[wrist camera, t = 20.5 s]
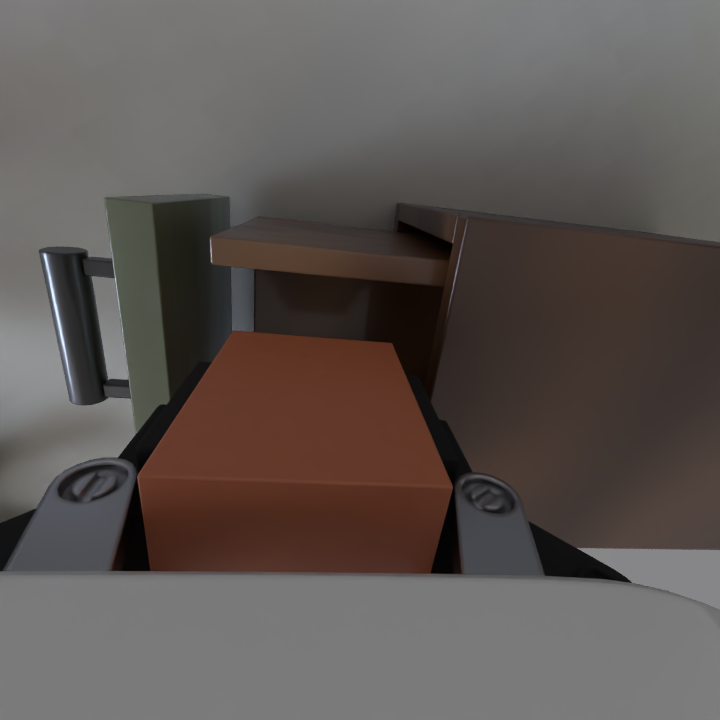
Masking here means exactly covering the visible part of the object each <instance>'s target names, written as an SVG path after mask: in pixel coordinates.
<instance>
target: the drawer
mask: <svg viewBox="0 0 720 720" xmlns="http://www.w3.org/2000/svg"><path fill="white" fill-rule="evenodd" d="M104 202H105V209H106V217H107V224H108V231H109V239H110V246H111V253H112V259H110V258H100V257H88V251H87V250H85V249H82V248H76V247H47V248H42V249H40V250H39V254H40V259H41V264H42V269H43V273H44V278H45V283H46V288H47V293H48V298H49V302H50V307H51V312H52V317H53V322H54V327H55V331H56V336H57V341H58V346H59V351H60V356H61V360H62V365H63V370H64V375H65V380H66V385H67V389H68V394H69V399H70V401H71V402H72V403H73V404H76V405H92V404H97V403H100V402H102V401H104V400H106V399H107V398H108V397H114V398H131V401H132V408H133V416H134V423H135V430H136V434H137V432H138V431H139V430H140V429H141V427H142V426H143V425H144V424H145V422H146V421H147V420H148V418H149V417H150V416H151V415H152V413H153V412H154V411H155V409H156V408H157V407H158V406H159V405H162V404H166V405H167V403H168V402H169V401H170V399H171V398H172V397H173V395H174V394H175V393H176V391H177V390H178V389H179V387H180V386H181V385H182V383H183V382H184V381H185V379H186V378H187V377H188V375H189V374H190V373H191V371H192V370H193V369H194V367H195V366H196V365H197V363H198V362H199V361H204V362H213V361H214V359H215V358H216V356H217V355H218V353H219V351H220V350H221V348H222V347H223V345H224V344H225V342H226V341H227V339H228V338H229V336H230V335H231V333H232V308H231V267H240V268H250V269H254V332H257V333H270V334H282V335H295V336H308V337H321V338H333V339H346V340H359V341H372V342H384V343H392V344H393V347H394V349H395V351H396V354H397V356H398V359H399V361H400V363H401V366H402V368H403V370H404V373H405V375H406V376H418V377H419V379H420V381H421V383H422V385H423V387H424V386H425V381H426V376H427V371H428V366H429V361H430V356H431V351H432V346H433V341H434V336H435V331H436V326H437V321H438V316H439V311H440V306H441V301H442V296H443V291H444V286H445V281H446V276H447V271H448V266H449V261H450V256H451V251H452V246H453V244H452V243H449V242H447V241H445V240H443V239H440V238H438V237H436V236H429V235H420V234H411V233H402V232H393V231H384V230H375V229H367V228H358V227H349V226H340V225H331V224H322V223H313V222H304V221H295V220H286V219H277V218H268V217H256V218H254V219H251V220H249V221H247V222H244V223H242V224H239V225H237V226H234V227H232V228H230V198H229V196H221V195H212V194H204V193H203V194H179V195H154V196H129V197H106V198H104ZM92 276H97V277H108V278H115V283H116V290H117V298H118V305H119V312H120V320H121V327H122V334H123V342H124V349H125V357H126V364H127V371H128V379H129V380H121V379H109V380H108V376H107V370H106V364H105V357H104V351H103V345H102V338H101V332H100V326H99V320H98V313H97V307H96V301H95V294H94V288H93V282H92Z"/></svg>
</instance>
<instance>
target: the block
mask: <svg viewBox="0 0 720 720" xmlns="http://www.w3.org/2000/svg"><path fill="white" fill-rule="evenodd" d="M137 479H138V486H139V493H140V500H141V507H142V514H143V522H144V529H145V536H146V543H147V550H148V557H149V564H150V571H216V572H333V573H413V574H430V573H431V569H432V566H433V562H434V558H435V554H436V550H437V547H438V543H439V539H440V535H441V531H442V527H443V524H444V520H445V516H446V512H447V508H448V504H449V501H450V497H451V493H452V489H453V486H452V483H451V481H450V479H449V476H448V474H447V472H446V469H445V467H444V465H443V462H442V460H441V457H440V455H439V453H438V450H437V448H436V446H435V443H434V441H433V439H432V436H431V434H430V432H429V429H428V427H427V425H426V422H425V420H424V417H423V415H422V413H421V410H420V408H419V406H418V403H417V401H416V399H415V396H414V394H413V392H412V389H411V387H410V384H409V382H408V380H407V377H406V375H405V373H404V370H403V368H402V366H401V363H400V361H399V359H398V356H397V354H396V351H395V349H394V347H393V344H392V343H384V342H372V341H359V340H346V339H333V338H321V337H308V336H295V335H282V334H270V333H257V332H244V331H233V332H232V333H231V335H230V336H229V338H228V339H227V341H226V342H225V344H224V345H223V347H222V348H221V350H220V351H219V353H218V355H217V356H216V358H215V359H214V361H213V362H212V364H211V365H210V367H209V368H208V370H207V371H206V373H205V374H204V376H203V377H202V379H201V380H200V382H199V383H198V385H197V386H196V388H195V389H194V391H193V392H192V394H191V395H190V397H189V398H188V400H187V401H186V403H185V404H184V406H183V407H182V409H181V410H180V412H179V413H178V415H177V416H176V418H175V419H174V421H173V422H172V424H171V425H170V427H169V429H168V430H167V432H166V433H165V435H164V436H163V438H162V439H161V441H160V442H159V444H158V445H157V447H156V448H155V450H154V451H153V453H152V454H151V456H150V457H149V459H148V460H147V462H146V463H145V465H144V466H143V468H142V469H141V471H140V472H139V474H138V476H137Z"/></svg>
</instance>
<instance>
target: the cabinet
mask: <svg viewBox="0 0 720 720" xmlns="http://www.w3.org/2000/svg"><path fill="white" fill-rule="evenodd" d="M394 232H402V233H411V234H420V235H429V236H436V237H438V238H440V239H443V240H445V241H447V242H449V243H452V244H453V246H452V251H451V256H450V261H449V266H448V271H447V276H446V281H445V286H444V291H443V296H442V301H441V306H440V311H439V316H438V321H437V326H436V331H435V336H434V341H433V346H432V351H431V356H430V361H429V366H428V371H427V376H426V381H425V386H424V389H425V391H426V393H427V395H428V397H429V399H430V402H431V404H432V406H433V408H434V410H435V412H436V414H437V416H438V418H439V420H445V421H446V422H447V423H448V425H449V427H450V429H451V431H452V433H453V435H454V437H455V439H456V440H457V442H458V444H459V446H460V448H461V450H462V452H463V454H464V456H465V458H466V460H467V462H468V464H469V466H470V468H471V470H472V472H478V473H485V474H489V475H492V476H495V477H497V478H499V479H501V480H503V481H505V482H506V483H507V484H509V485H510V486H512V488H513V489H514V490H515V491H516V492H517V493H518V494H519V496H520V498H521V500H522V503H523V506H524V509H525V513H526V516H527V519H528V521H529V522H531V523H533V524H535V525H537V526H538V527H540V528H542V529H544V530H545V531H547V532H549V533H551V534H552V535H554V536H556V537H558V538H559V539H561V540H563V541H565V542H566V543H568V544H570V545H572V546H574V547H575V548H615V549H616V548H619V549H683V550H687V549H688V550H720V243H719V242H712V241H705V240H698V239H690V238H683V237H676V236H668V235H661V234H653V233H645V232H637V231H628V230H620V229H612V228H604V227H595V226H587V225H579V224H571V223H563V222H554V221H546V220H538V219H530V218H521V217H513V216H505V215H497V214H488V213H480V212H472V211H464V210H455V209H447V208H439V207H431V206H422V205H414V204H406V203H398V204H397V210H396V218H395V225H394Z"/></svg>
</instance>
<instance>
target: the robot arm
mask: <svg viewBox="0 0 720 720" xmlns="http://www.w3.org/2000/svg"><path fill="white" fill-rule="evenodd" d="M211 364H212V362H204V361H199V362H198V363H197V365H196V366H195V367H194V369H193V370H192V371H191V373H190V374H189V375H188V377H187V378H186V379H185V381H184V382H183V383H182V385H181V386H180V387H179V389H178V390H177V391H176V393H175V394H174V395H173V397H172V398H171V399H170V401H169V402H168V403H167V405H166V404H162V405H159V406H158V407H157V408H156V409H155V411H154V412H153V413H152V415H151V416H150V417H149V418H148V420H147V421H146V422H145V424H144V425H143V426H142V427H141V429H140V430H139V431H138V432H137V434H136V435H135V436H134V438H133V439H132V440H131V441H130V443H129V444H128V445H127V447H126V448H125V449H124V450H123V452H122V453H121V454H120V456H119V457H118V458H99V459H93V460H89V461H86V462H83V463H80V464H77V465H75V466H73V467H71V468H69V469H67V470H65V471H64V472H62V473H61V474H60V475H58V476H57V477H56V478H55V479H54V480H53V481H52V483H51V484H50V485H49V487H48V489H47V490H46V492H45V494H44V496H43V498H42V500H41V501H40V503H39V505H38V507H37V509H34V510H32V511H29V512H27V513H24V514H22V515H19V516H17V517H15V518H12V519H10V520H7V521H5V522H2V523H0V720H720V610H719V609H716V608H714V607H712V606H709V605H707V604H705V603H702V602H699V601H696V600H693V599H690V598H687V597H684V596H681V595H678V594H675V593H671V592H669V591H665V590H661V589H656V588H653V587H648V586H644V585H640V584H635V583H632V582H631V581H630V580H628V579H627V578H626V577H625V576H623V575H622V574H620V573H619V572H617V571H616V570H614V569H612V568H611V567H609V566H607V565H605V564H603V563H602V562H600V561H598V560H596V559H595V558H593V557H591V556H589V555H588V554H586V553H584V552H582V551H581V550H579V549H577V548H575V547H574V546H572V545H570V544H568V543H566V542H565V541H563V540H561V539H559V538H558V537H556V536H554V535H552V534H551V533H549V532H547V531H545V530H544V529H542V528H540V527H538V526H537V525H535V524H533V523H531V522H529V521H528V519H527V516H526V513H525V509H524V506H523V503H522V500H521V498H520V496H519V494H518V493H517V492H516V491H515V490H514V489H513V488H512V486H510V485H509V484H507V483H506V482H505V481H503V480H501V479H499V478H497V477H495V476H492V475H489V474H485V473H478V472H472V470H471V468H470V466H469V464H468V462H467V460H466V458H465V456H464V454H463V452H462V450H461V448H460V446H459V444H458V442H457V440H456V439H455V437H454V435H453V433H452V431H451V429H450V427H449V425H448V423H447V422H446V421H445V420H439V418H438V416H437V414H436V412H435V410H434V408H433V406H432V404H431V402H430V399H429V397H428V395H427V393H426V391H425V389H424V387H423V385H422V383H421V381H420V379H419V377H418V376H406V377H407V380H408V382H409V384H410V387H411V389H412V392H413V394H414V396H415V399H416V401H417V403H418V406H419V408H420V410H421V413H422V415H423V417H424V420H425V422H426V425H427V427H428V429H429V432H430V434H431V436H432V439H433V441H434V443H435V446H436V448H437V450H438V453H439V455H440V457H441V460H442V462H443V465H444V467H445V469H446V472H447V474H448V476H449V479H450V481H451V483H452V486H453V489H452V493H451V497H450V501H449V504H448V508H447V512H446V516H445V520H444V524H443V527H442V531H441V535H440V539H439V543H438V547H437V550H436V554H435V558H434V562H433V566H432V569H431V573H430V574H413V573H333V572H216V571H150V564H149V557H148V550H147V543H146V536H145V529H144V522H143V514H142V507H141V500H140V493H139V486H138V479H137V476H138V474H139V472H140V471H141V469H142V468H143V466H144V465H145V463H146V462H147V460H148V459H149V457H150V456H151V454H152V453H153V451H154V450H155V448H156V447H157V445H158V444H159V442H160V441H161V439H162V438H163V436H164V435H165V433H166V432H167V430H168V429H169V427H170V425H171V424H172V422H173V421H174V419H175V418H176V416H177V415H178V413H179V412H180V410H181V409H182V407H183V406H184V404H185V403H186V401H187V400H188V398H189V397H190V395H191V394H192V392H193V391H194V389H195V388H196V386H197V385H198V383H199V382H200V380H201V379H202V377H203V376H204V374H205V373H206V371H207V370H208V368H209V367H210V365H211Z"/></svg>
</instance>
